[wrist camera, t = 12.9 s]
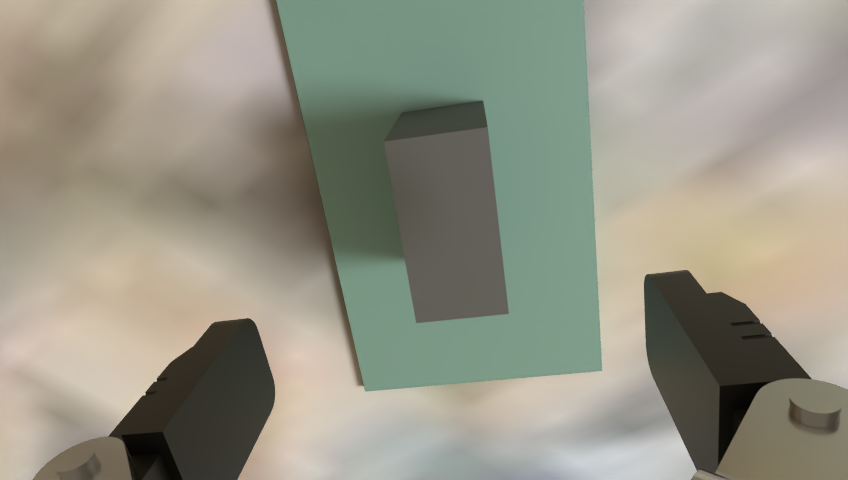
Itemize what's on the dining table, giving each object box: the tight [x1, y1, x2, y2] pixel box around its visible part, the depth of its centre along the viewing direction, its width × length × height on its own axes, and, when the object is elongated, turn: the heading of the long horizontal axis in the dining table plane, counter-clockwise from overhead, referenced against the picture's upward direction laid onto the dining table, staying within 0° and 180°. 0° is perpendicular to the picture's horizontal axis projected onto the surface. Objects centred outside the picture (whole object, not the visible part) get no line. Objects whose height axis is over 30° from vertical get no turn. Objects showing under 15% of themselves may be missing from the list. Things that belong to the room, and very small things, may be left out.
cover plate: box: [276, 0, 602, 391], centre depth 20 cm, size 10×18×6 cm, turn 9°
